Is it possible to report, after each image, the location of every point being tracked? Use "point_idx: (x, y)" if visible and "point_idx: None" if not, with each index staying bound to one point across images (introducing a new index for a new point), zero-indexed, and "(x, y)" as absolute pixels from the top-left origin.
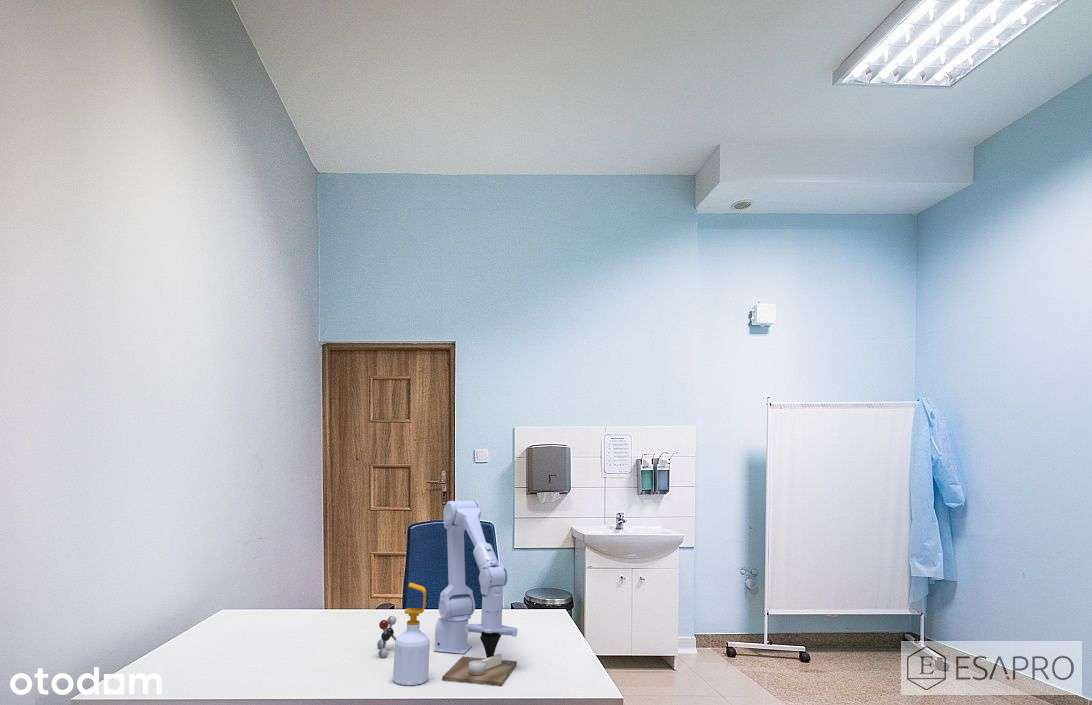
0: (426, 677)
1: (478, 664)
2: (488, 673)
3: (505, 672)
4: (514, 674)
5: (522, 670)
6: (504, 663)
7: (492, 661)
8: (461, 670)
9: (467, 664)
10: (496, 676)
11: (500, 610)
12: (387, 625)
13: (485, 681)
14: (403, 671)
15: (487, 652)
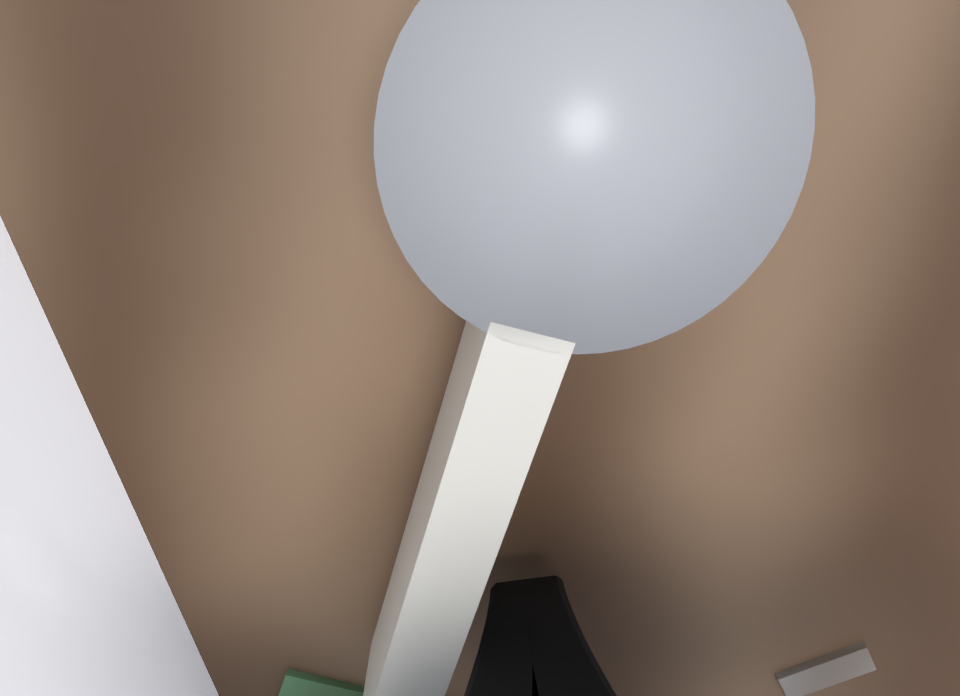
0: None
1: (507, 23)
2: (354, 201)
3: (122, 369)
4: (91, 468)
5: (99, 627)
6: (358, 679)
7: (415, 531)
8: (901, 144)
9: (864, 463)
10: (128, 103)
11: None
12: None
13: None
14: None
15: (568, 691)
